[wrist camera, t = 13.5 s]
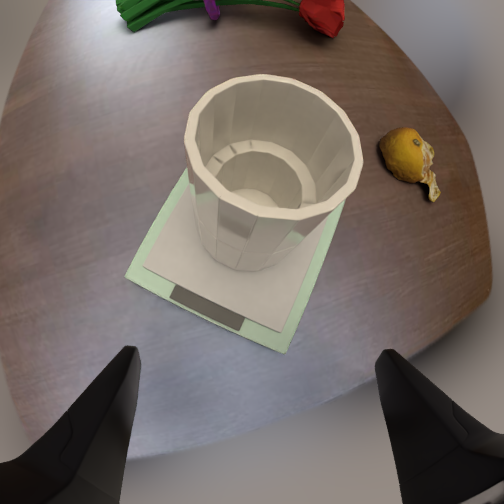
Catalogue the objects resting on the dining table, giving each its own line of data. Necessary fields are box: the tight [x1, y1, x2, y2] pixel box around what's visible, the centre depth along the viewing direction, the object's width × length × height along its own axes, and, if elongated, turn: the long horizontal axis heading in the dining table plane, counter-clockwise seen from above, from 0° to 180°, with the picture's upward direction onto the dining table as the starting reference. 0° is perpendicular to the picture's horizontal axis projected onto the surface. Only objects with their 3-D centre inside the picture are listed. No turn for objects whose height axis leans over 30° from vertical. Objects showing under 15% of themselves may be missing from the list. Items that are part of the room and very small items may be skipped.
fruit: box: [379, 127, 441, 202], centre depth 25 cm, size 8×8×4 cm
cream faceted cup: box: [184, 74, 363, 271], centre depth 15 cm, size 7×7×10 cm
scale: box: [125, 168, 346, 354], centre depth 21 cm, size 14×12×3 cm
